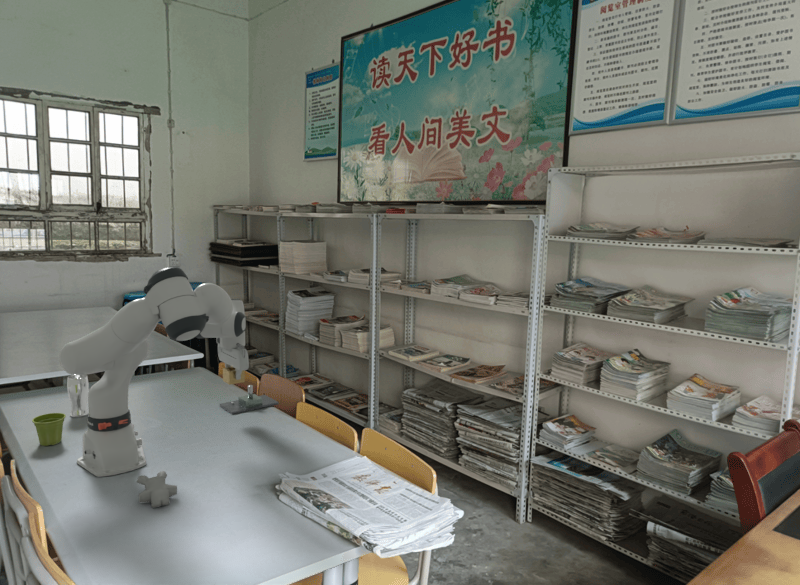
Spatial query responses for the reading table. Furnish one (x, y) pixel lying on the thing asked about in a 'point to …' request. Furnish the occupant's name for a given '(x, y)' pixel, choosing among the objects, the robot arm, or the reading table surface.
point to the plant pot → (49, 428)
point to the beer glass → (78, 394)
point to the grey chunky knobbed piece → (156, 490)
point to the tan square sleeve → (232, 376)
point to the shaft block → (248, 402)
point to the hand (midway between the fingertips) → (233, 376)
